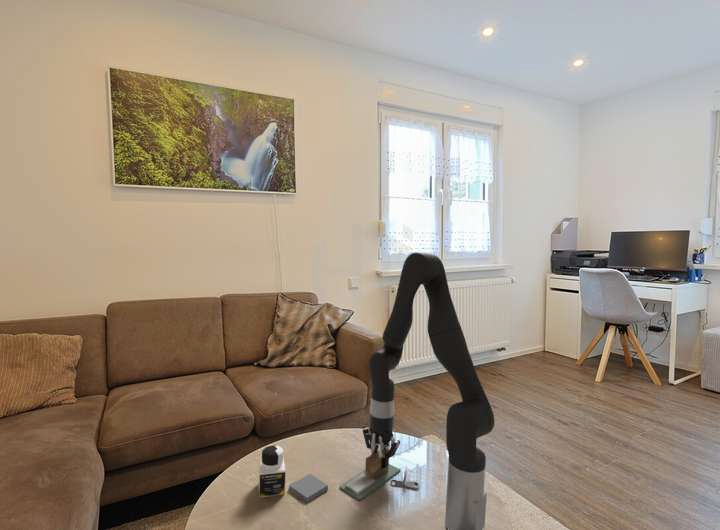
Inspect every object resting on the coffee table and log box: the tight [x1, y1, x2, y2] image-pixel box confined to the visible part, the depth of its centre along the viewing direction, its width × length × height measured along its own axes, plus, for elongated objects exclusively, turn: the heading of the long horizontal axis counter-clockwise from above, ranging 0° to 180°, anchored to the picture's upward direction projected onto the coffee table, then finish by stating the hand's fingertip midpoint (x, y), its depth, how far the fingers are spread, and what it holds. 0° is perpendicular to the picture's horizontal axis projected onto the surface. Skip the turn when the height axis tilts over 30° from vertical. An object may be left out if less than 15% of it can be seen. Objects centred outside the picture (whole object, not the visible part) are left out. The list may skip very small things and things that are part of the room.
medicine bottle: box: [258, 445, 287, 499], centre depth 114 cm, size 7×7×12 cm
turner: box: [345, 449, 390, 495], centre depth 120 cm, size 5×16×6 cm, turn 139°
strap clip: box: [390, 470, 420, 491], centre depth 119 cm, size 8×3×4 cm, turn 80°
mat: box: [339, 463, 401, 501], centre depth 121 cm, size 8×20×1 cm, turn 139°
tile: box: [288, 473, 329, 503], centre depth 115 cm, size 8×2×8 cm
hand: (379, 465), depth 124 cm, fingers closed on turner, 3 cm apart
